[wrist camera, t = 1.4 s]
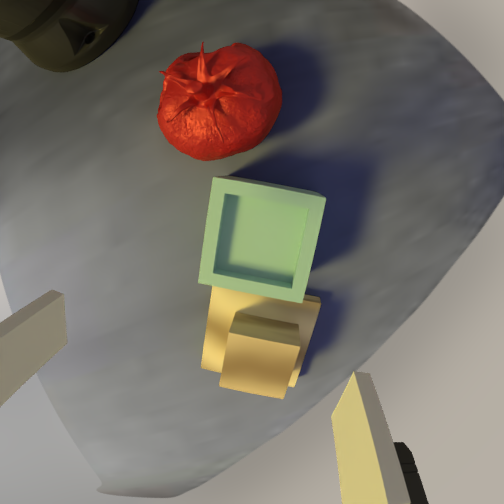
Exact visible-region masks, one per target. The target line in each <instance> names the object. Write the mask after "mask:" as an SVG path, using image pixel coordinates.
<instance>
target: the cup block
mask: <svg viewBox="0 0 504 504" xmlns="http://www.w3.org/2000/svg"><path fill="white" fill-rule="evenodd" d="M325 202H326V198H325V197H324V196H322V195H321V194H319V193H317V192H314V191H309V190H304V189H299V188H294V187H289V186H284V185H279V184H274V183H268V182H263V181H257V180H252V179H246V178H240V177H234V176H218V177H213V182H212V188H211V195H210V201H209V208H208V214H207V221H206V228H205V235H204V242H203V250H202V257H201V265H200V273H199V281H198V283H202V284H206V285H211V286H216V287H221V288H225V289H230V290H235V291H240V292H245V293H250V294H255V295H260V296H265V297H271V298H276V299H281V300H286V301H292V302H297V303H302V302H303V298H304V294H305V290H306V286H307V282H308V278H309V273H310V269H311V265H312V261H313V257H314V252H315V248H316V243H317V239H318V235H319V230H320V225H321V221H322V216H323V211H324V207H325Z"/></svg>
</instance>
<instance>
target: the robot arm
mask: <svg viewBox="0 0 504 504" xmlns="http://www.w3.org/2000/svg"><path fill="white" fill-rule="evenodd" d="M137 3H138V0H0V37H1V38H4V39H7V40H10V41H12V42H13V43H14V44H15V45H16V46H17V47H18V48H19V49H20V50H21V51H22V52H23V53H24V54H25V55H26V56H27V57H28V58H29V59H30V60H31V61H32V62H33V63H34V64H35V65H37V66H39V67H41V68H44V69H47V70H50V71H53V72H68V71H72V70H75V69H77V68H80V67H82V66H84V65H86V64H87V63H89V62H91V61H92V60H94V59H95V58H96V57H98V56H99V55H100V54H102V53H103V52H104V51H105V50H106V49H107V48H108V47H109V46H110V45H111V44H112V43H113V42H114V41H115V40H116V39H117V38H118V37H119V35H120V34H121V33H122V32H123V30H124V29H125V27H126V26H127V24H128V23H129V21H130V19H131V18H132V16H133V14H134V11H135V9H136V6H137ZM66 344H67V333H66V321H65V305H64V294H62V293H59V292H57V291H54V290H51V291H49V292H47V293H46V294H44V295H43V296H41V297H39V298H38V299H36V300H35V301H33V302H31V303H30V304H28V305H27V306H25V307H24V308H22V309H20V310H19V311H17V312H16V313H14V314H13V315H11V316H10V317H8V318H7V319H5V320H4V321H2V322H1V323H0V407H1V406H2V405H3V404H4V403H5V402H6V401H7V400H8V399H9V398H10V397H11V396H12V395H13V394H14V393H15V392H16V391H17V390H18V389H19V388H20V387H21V386H22V385H23V384H24V383H25V382H26V381H27V380H28V379H29V378H30V377H32V375H34V374H35V373H36V372H37V371H38V370H39V369H40V368H41V367H42V366H43V365H44V364H45V363H46V362H47V361H49V360H50V359H51V358H52V357H53V356H54V355H55V354H56V353H57V352H58V351H59V350H60V349H62V348H63V347H64V346H65V345H66ZM331 419H332V425H333V433H334V440H335V447H336V455H337V462H338V470H339V478H340V487H341V496H342V504H429V503H428V501H427V498H426V495H425V491H424V488H423V485H422V482H421V479H420V476H419V473H417V472H418V470H417V467H416V465H415V461H414V458H413V455H412V452H411V451H410V450H409V448H408V447H407V446H406V445H405V444H404V443H403V442H393V440H392V437H391V434H390V431H389V428H388V425H387V422H386V419H385V416H384V413H383V410H382V407H381V404H380V401H379V398H378V395H377V392H376V390H375V387H374V384H373V381H372V378H371V376H370V374H369V373H362V372H355V371H354V372H353V374H352V376H351V378H350V380H349V382H348V384H347V387H346V388H345V390H344V392H343V394H342V396H341V399H340V401H339V402H338V404H337V406H336V408H335V410H334V412H333V414H332V416H331Z"/></svg>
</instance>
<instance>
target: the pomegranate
mask: <svg viewBox="0 0 504 504" xmlns="http://www.w3.org/2000/svg"><path fill="white" fill-rule="evenodd" d="M203 43H204V42H202V47H201V52H197V53H187V54H184V55H181V56H180V57H178V58H177V59H176V60H175V61H174V62H173V63H172V64H171V65H170V66H169V67H168V69H167V70H166V72H164V71H159V72H160V73H162V74H164V75H165V79H164V82H163V91H162V93H161V96H160V105H159V108H158V114H157V118H158V123H159V126H160V129H161V131H162V132H163V134H164V136H165V137H166V139H167V140H168V141H169V143H170V144H172V145H173V146H174V147H175V148H176V149H177V150H179V151H180V152H182V153H185V154H187V155H190V156H191V157H193V158H195V159H198V160H202V161H211V160H218V159H223V158H226V157H228V156H232V155H235V154H237V153H241V152H245V151H248V150H250V149H252V148H254V147H255V146H257V145H258V144H260V143H261V142H262V141H263V140H264V138H265V137H266V136H267V135H268V133H269V132H270V130H271V128H272V126H273V125H274V123H275V121H276V119H277V117H278V114H279V112H280V109H281V105H282V90H281V88H280V85H279V83H278V78H277V75H276V72H275V70H274V68H273V67H272V65H271V64H270V62H269V61H268V60H267V59H265V58H264V57H263V55H262V54H261V53H260V52H259V51H257V50H256V49H253V48H251V47H250V46H248V45H246V44H242V43H233V44H232V45H231V46H226V47H223V48H220V49H218V50H217V51H215V52H212V53H204V49H203Z"/></svg>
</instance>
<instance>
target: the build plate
mask: <svg viewBox="0 0 504 504" xmlns="http://www.w3.org/2000/svg"><path fill="white" fill-rule="evenodd" d="M320 306H321V301H320V297H315V296H310V295H305V294H304V298H303V302H302V303H297V302H292V301H286V300H281V299H276V298H271V297H265V296H260V295H255V294H250V293H245V292H240V291H235V290H230V289H225V288H221V287H216V286H213V287H212V294H211V300H210V307H209V314H208V320H207V327H206V334H205V341H204V348H203V356H202V363H201V368H204V369H208V370H212V371H216V372H220V373H221V378H220V383H219V386H220V387H225V388H229V389H234V390H238V391H243V392H248V393H253V394H258V395H264V396H269V397H275V398H281V399H283V398H284V395H285V393H286V390H287V387H288V386H291V387H294V386H295V384H296V381H297V378H298V375H299V372H300V369H301V366H302V363H303V360H304V357H305V354H306V351H307V348H308V345H309V342H310V339H311V336H312V332H313V329H314V326H315V323H316V319H317V316H318V313H319V309H320Z"/></svg>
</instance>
